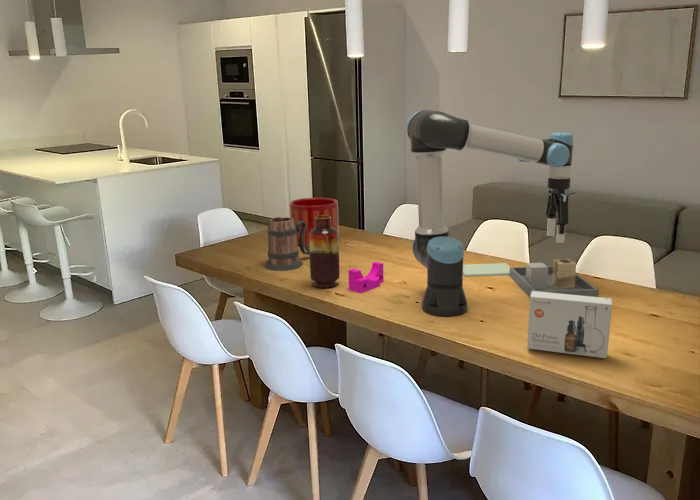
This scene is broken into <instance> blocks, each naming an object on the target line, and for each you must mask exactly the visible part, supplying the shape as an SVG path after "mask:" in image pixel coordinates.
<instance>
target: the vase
mask: <svg viewBox="0 0 700 500" xmlns="http://www.w3.org/2000/svg"><path fill="white" fill-rule="evenodd" d="M339 243H340V236H339V237H338V231H337V230H336V229H334V228H332V227H331V217H330V216H325V215H323V216H316V217H315V228H314V229H312V230H311V231H310V232H309V247H308V249H309V254H310V255H309V267H310V268H309V273H310V280H312V281H313V286H314V287H315V288H319V289H329V288H333V287H336V286H337V285H338V281H337V280H339V279H340V273H341V271H340V245H339Z"/></svg>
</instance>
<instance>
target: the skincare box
mask: <svg viewBox="0 0 700 500" xmlns="http://www.w3.org/2000/svg"><path fill="white" fill-rule="evenodd" d="M612 308H613V299H612V298H610V297H601V296H600V297H599V296H598V297H591V296H581V295H570V294H559V293H549V292H539V291H532V292H531V295H530V297H529V312H528V326H527V327H528V328H527V342H526V343H527V344H526V346H527V347H526V348H527V349H528V350H529V349H530V350H540V351H546V352H554V353H562V354H570V355H578V356H586V357H592V358H600V359H607V357H608V351H609V340H610V331H611V321H612V320H611V319H612Z"/></svg>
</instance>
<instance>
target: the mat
mask: <svg viewBox="0 0 700 500" xmlns="http://www.w3.org/2000/svg"><path fill="white" fill-rule="evenodd" d="M510 267H511V266H510V265H509V264H508V263H507V262H499V263H494V262H493V263H474V264H473V263H470V264H468V263H467V264H463V277H464V278H468V277H469V278H470V277H471V278H473V277H492V276H494V277H495V276H496V277H497V276H499V277H500V276H509V272H510Z"/></svg>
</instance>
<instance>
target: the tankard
mask: <svg viewBox="0 0 700 500" xmlns="http://www.w3.org/2000/svg"><path fill="white" fill-rule="evenodd" d="M301 224H302V229H301V226H300V225H301ZM300 229H301V231H300ZM305 231H306V223H305V222H304V221H298V222H297V223H296V224H295V223H294V219H293V218H290V217H281V216H280V217H272V218H270V219H269V221H268V228H267V239H268V245H267V246H268V251H267V256H268V260H266V263H265V264H264V268H265V270H269V271H274V272H285V271H293V270H297V269H300V268H302V267H303V265H304V263H303V262H302V260H301V259H300V257H299V254H300V253H299V249H300V251H301V253H302V254H303V255H306V256H310V254H309V245H308V244H307V245H305V247H304V246H303V238H304V234H305ZM296 232H299V233H300V235H299V246H297V236H296ZM298 247H299V249H298ZM301 266H302V267H301Z"/></svg>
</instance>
